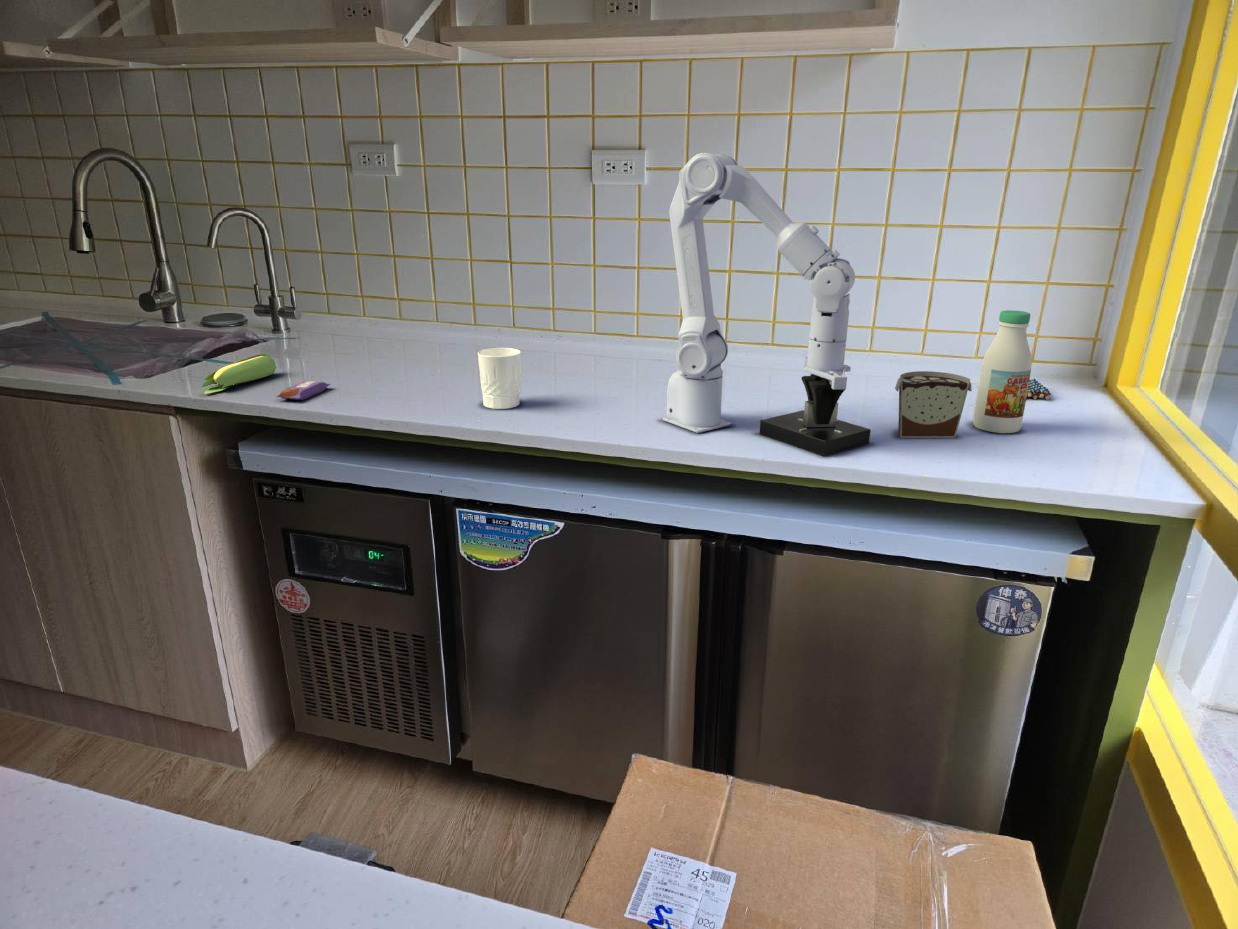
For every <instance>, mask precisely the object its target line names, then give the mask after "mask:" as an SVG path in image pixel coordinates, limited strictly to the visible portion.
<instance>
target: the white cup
mask: <svg viewBox="0 0 1238 929" xmlns="http://www.w3.org/2000/svg"><path fill="white" fill-rule="evenodd" d="M477 360H478V362H477V363H478V371H479V372H478V373H479V379H480V380H479V382H480V388H481V389H480V390H481V392H482V394H481V395H482V402H483V403H482V404H483V406H484V407H486V409H487V408H488V409H493V410H506V409H507V410H508V409H513V408H515V407H518V406H519V405H520V393H521V392H520V390H521V375H522V351H521V350H519V349H517V348H511V347H490V348H484V349H481V350H479V351H477Z"/></svg>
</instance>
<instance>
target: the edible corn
mask: <svg viewBox="0 0 1238 929" xmlns="http://www.w3.org/2000/svg"><path fill="white" fill-rule="evenodd" d="M276 369H277V365H276V361H275V359H274V358H273V357H272V356H271V355H270V354H267V353H262V354H261V353H260V354H256V355H253V356H249V357H247V358H243V359H241V360H239V361H236V362H234V363H232V364H229V365H225V366H224V367H221V368H219V369H218V370H216V371H214V372H211V373H210V374H207V376H205V377H204V378H203V380H205V382H203V384H202V386H201V388H202V387H205V386H208V385H211V384H217V383H218V385H215V386H212V387H209V388H207V390H205V391H204V393H203V394H204V395H206V394H213V393H217V392H221V391H223V390H226V389H230V388H232V387H235V386H238V385H242V384H245V383H249V382H254V381H257V380H262V379H265V378H267V377H270V376H273V375H274V374H275V373H276ZM233 384H234V385H233Z"/></svg>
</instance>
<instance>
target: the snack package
mask: <svg viewBox="0 0 1238 929" xmlns="http://www.w3.org/2000/svg"><path fill="white" fill-rule="evenodd" d="M331 385H332V383H326V382H324V381H311V380H304V381H301V382H299V383H296V384H294V385H292V386H289V387H286V388H285V389H283V390H282V391H281V392H280V393H279V394H277V395H276V396H275V398H280V399H284V400H297V401H304V400H307V399H308V398H311V397H313V396H316V395H317V394H320V393H322V392H323V391H325V390H326V389H327V388H328V387H329V386H331Z"/></svg>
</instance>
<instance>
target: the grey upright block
mask: <svg viewBox="0 0 1238 929" xmlns="http://www.w3.org/2000/svg"><path fill="white" fill-rule="evenodd" d="M803 410H804V419H803V425H804V426H805V427H836V422H837V419H838V410H839V402H837V403H836V406H835V408H834V411H833V414H832V417H831V420H830V422H829V424H820V425H817V424H816V423H815V417H814V401H808V400H805V401H804V409H803Z"/></svg>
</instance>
